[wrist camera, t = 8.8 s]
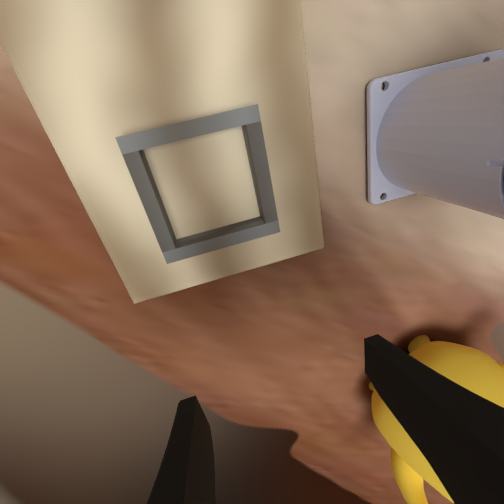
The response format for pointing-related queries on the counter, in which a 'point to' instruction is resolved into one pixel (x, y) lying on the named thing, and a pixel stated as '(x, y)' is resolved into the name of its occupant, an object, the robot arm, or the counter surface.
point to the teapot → (459, 371)
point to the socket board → (176, 129)
